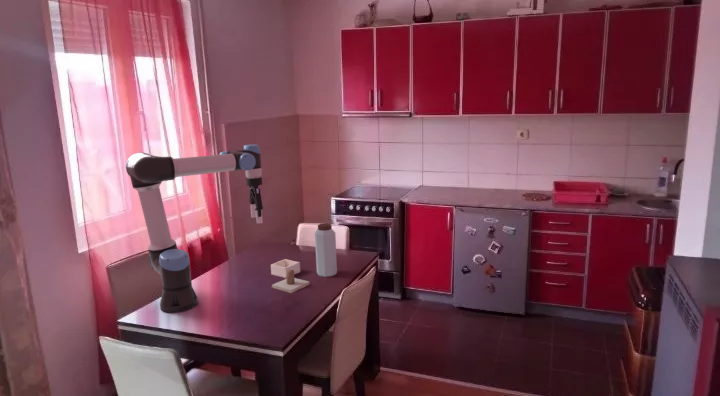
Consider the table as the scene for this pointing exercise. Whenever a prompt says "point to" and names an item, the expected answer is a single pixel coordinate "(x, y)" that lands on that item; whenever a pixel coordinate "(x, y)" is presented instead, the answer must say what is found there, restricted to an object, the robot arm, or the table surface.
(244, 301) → the table surface
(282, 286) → the lid
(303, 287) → the plate
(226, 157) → the robot arm
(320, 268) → the water bottle
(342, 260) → the table surface
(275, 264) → the dish
